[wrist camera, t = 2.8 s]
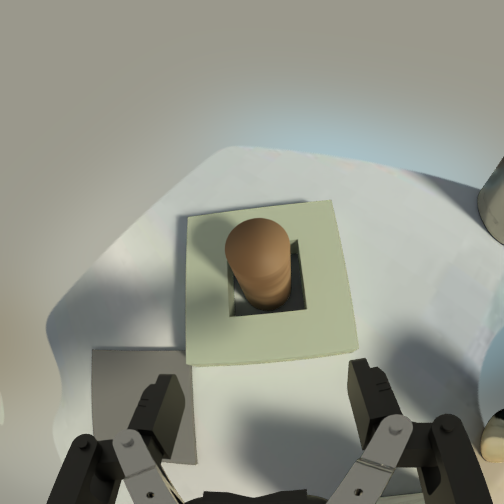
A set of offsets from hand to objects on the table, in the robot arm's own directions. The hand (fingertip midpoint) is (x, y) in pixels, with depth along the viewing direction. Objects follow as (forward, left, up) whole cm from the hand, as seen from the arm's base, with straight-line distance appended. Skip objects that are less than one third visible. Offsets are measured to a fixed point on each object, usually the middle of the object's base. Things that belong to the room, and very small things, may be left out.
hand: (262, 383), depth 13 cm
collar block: (0, -9, -13) cm, 16 cm away
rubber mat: (+13, +2, -13) cm, 19 cm away
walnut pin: (0, -9, -13) cm, 16 cm away
